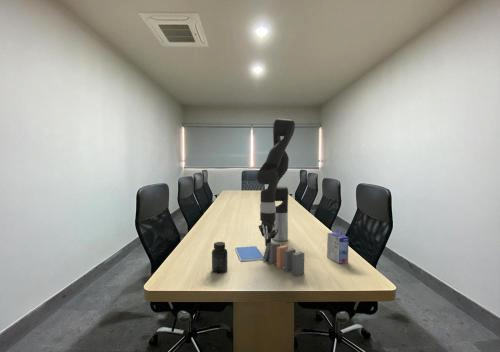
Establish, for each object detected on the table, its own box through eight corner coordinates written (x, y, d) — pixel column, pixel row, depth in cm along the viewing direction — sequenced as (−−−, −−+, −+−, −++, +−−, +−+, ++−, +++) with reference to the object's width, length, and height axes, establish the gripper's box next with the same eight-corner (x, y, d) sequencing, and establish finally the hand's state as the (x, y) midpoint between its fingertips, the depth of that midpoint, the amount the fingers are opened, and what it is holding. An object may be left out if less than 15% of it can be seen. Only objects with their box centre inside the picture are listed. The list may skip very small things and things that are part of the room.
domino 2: (269, 263, 111) (269, 244, 110) (277, 260, 114) (277, 242, 113) (272, 264, 109) (272, 245, 109) (280, 262, 112) (280, 243, 112)
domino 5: (292, 275, 99) (292, 253, 98) (300, 272, 101) (300, 251, 101) (295, 276, 97) (295, 255, 97) (304, 273, 100) (304, 252, 99)
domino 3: (276, 266, 107) (276, 247, 107) (284, 264, 110) (284, 245, 109) (279, 268, 105) (279, 248, 105) (287, 265, 108) (287, 246, 108)
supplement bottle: (216, 266, 108) (216, 240, 108) (230, 268, 106) (229, 241, 105) (208, 272, 102) (208, 244, 101) (223, 274, 99) (222, 246, 99)
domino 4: (284, 270, 103) (284, 250, 102) (292, 268, 106) (292, 248, 105) (287, 272, 101) (287, 251, 101) (295, 269, 104) (295, 249, 104)
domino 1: (263, 258, 115) (267, 243, 112) (271, 256, 118) (275, 241, 115) (265, 261, 113) (269, 245, 110) (273, 258, 116) (277, 243, 113)
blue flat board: (234, 249, 132) (234, 247, 132) (256, 247, 134) (256, 245, 134) (240, 262, 113) (240, 260, 113) (265, 260, 116) (265, 258, 116)
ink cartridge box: (349, 263, 110) (349, 232, 110) (339, 264, 109) (339, 233, 109) (336, 255, 120) (336, 227, 120) (326, 256, 119) (326, 228, 118)
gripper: (282, 212, 111) (283, 248, 112) (265, 208, 122) (265, 241, 123) (270, 214, 107) (270, 251, 107) (253, 209, 118) (254, 244, 118)
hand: (268, 246), depth 115 cm, fingers closed
